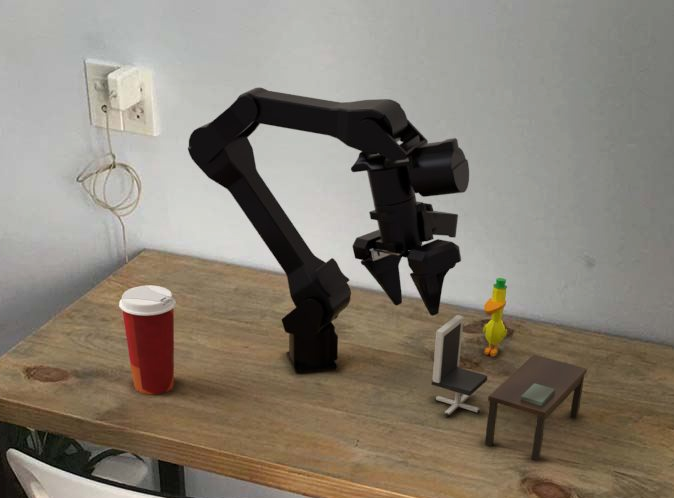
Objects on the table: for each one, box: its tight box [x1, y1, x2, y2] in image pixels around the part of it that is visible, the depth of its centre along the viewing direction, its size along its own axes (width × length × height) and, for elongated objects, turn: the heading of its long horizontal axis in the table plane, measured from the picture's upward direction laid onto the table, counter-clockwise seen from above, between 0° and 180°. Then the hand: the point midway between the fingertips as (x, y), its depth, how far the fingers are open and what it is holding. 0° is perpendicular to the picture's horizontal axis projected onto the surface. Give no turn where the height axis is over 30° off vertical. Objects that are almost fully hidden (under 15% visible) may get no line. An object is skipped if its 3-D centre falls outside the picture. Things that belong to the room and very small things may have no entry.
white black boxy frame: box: [431, 314, 489, 418], centre depth 156 cm, size 7×7×12 cm
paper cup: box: [118, 284, 177, 395], centre depth 157 cm, size 8×8×14 cm
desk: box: [484, 353, 588, 462], centre depth 153 cm, size 8×15×8 cm, turn 150°
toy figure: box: [482, 277, 508, 357], centre depth 171 cm, size 7×4×12 cm, turn 151°
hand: (416, 309), depth 158 cm, fingers open, 9 cm apart
